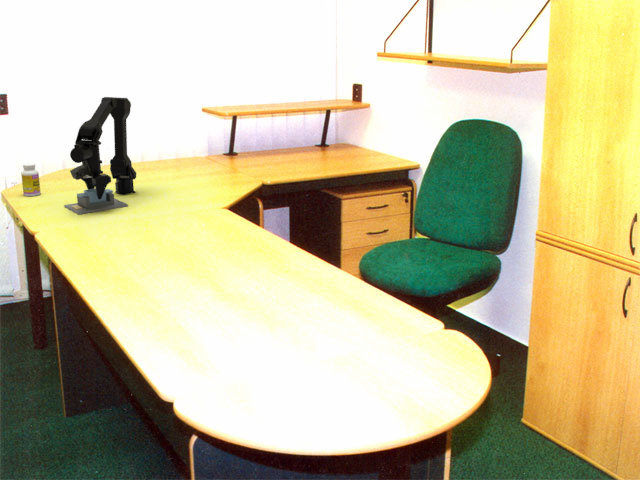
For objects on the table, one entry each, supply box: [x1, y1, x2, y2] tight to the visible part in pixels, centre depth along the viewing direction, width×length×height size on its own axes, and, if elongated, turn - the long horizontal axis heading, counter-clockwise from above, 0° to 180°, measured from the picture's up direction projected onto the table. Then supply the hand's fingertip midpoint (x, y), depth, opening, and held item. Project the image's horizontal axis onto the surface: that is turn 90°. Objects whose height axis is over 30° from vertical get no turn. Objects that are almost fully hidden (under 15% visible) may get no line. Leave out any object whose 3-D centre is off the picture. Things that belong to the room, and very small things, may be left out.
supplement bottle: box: [21, 162, 41, 197], centre depth 295 cm, size 7×7×13 cm
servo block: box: [76, 188, 114, 204], centre depth 279 cm, size 13×4×6 cm, turn 130°
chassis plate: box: [63, 192, 129, 216], centre depth 279 cm, size 20×14×5 cm
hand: (95, 197), depth 279 cm, fingers open, 7 cm apart
